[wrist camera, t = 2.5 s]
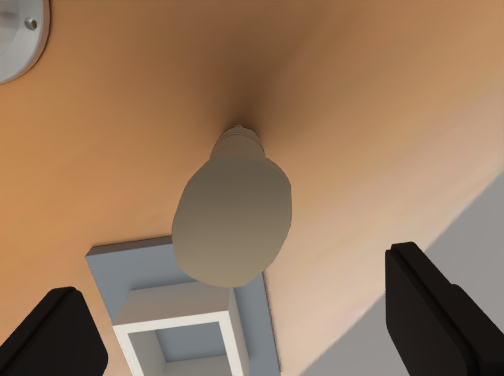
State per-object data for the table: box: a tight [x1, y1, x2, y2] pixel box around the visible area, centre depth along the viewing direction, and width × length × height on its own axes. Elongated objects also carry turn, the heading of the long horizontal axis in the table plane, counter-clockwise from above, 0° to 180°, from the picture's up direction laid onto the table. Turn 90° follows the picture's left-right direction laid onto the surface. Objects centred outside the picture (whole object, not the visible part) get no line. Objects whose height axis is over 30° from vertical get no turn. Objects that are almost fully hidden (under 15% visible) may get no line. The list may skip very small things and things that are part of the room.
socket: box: [85, 236, 281, 376], centre depth 32 cm, size 20×16×6 cm
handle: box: [172, 125, 292, 288], centre depth 21 cm, size 5×6×15 cm
